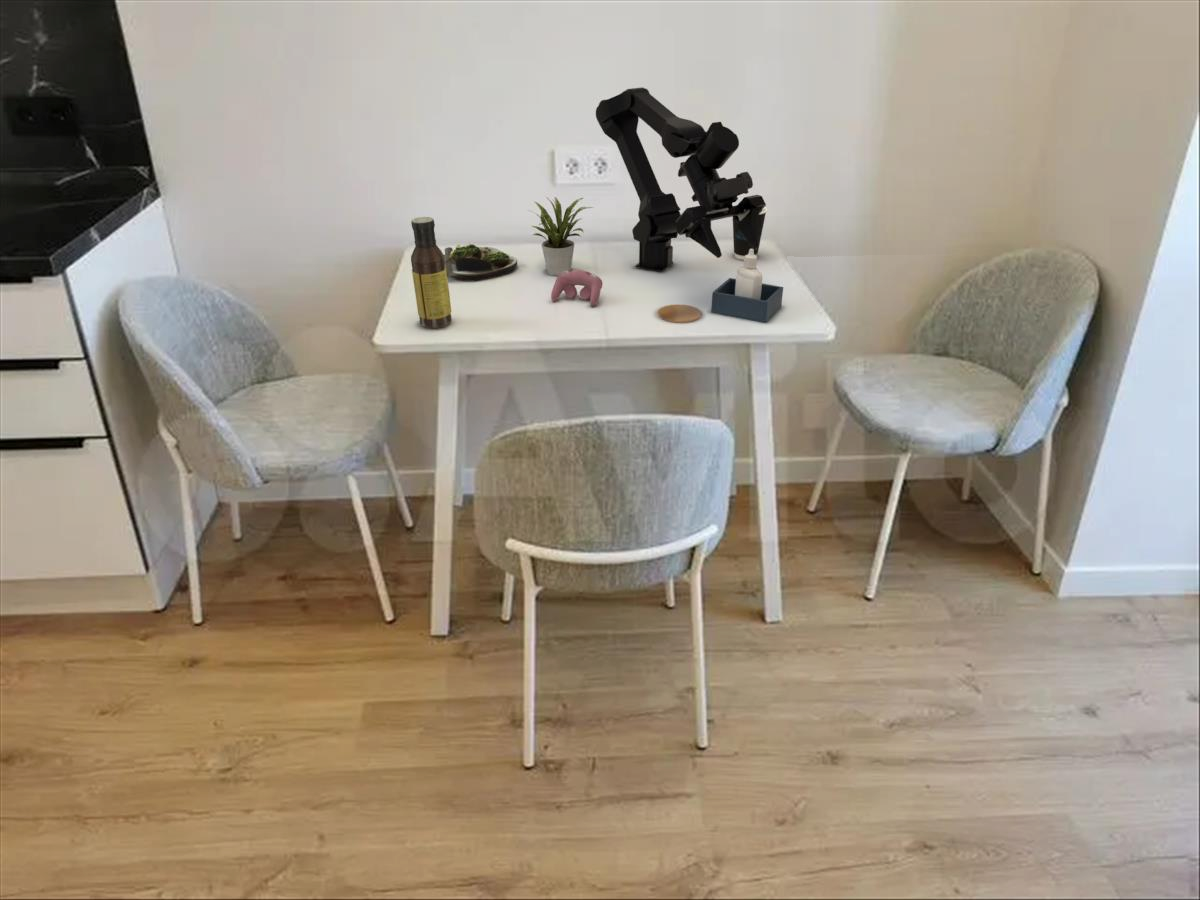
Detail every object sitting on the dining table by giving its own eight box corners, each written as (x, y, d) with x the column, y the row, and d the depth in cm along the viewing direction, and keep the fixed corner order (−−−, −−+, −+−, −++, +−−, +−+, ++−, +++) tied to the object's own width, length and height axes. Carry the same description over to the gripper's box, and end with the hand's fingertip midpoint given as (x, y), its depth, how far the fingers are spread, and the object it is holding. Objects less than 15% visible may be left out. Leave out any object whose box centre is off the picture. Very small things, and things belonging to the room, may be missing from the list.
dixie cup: (731, 262, 197) (735, 214, 192) (724, 251, 204) (728, 204, 199) (766, 261, 198) (771, 213, 192) (758, 250, 205) (762, 203, 199)
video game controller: (601, 308, 178) (606, 274, 177) (594, 306, 174) (599, 270, 173) (555, 303, 181) (560, 268, 180) (548, 300, 177) (553, 265, 176)
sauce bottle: (458, 320, 169) (449, 217, 159) (440, 331, 164) (429, 226, 154) (430, 314, 172) (419, 212, 161) (411, 326, 167) (398, 221, 157)
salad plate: (415, 262, 199) (412, 242, 196) (485, 247, 207) (483, 228, 205) (454, 287, 185) (452, 265, 183) (527, 270, 194) (526, 249, 191)
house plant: (603, 262, 198) (603, 189, 189) (590, 283, 186) (589, 206, 178) (541, 258, 200) (538, 186, 192) (524, 279, 189) (521, 202, 180)
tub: (710, 312, 172) (712, 292, 170) (728, 297, 179) (729, 277, 177) (765, 322, 168) (767, 302, 165) (781, 306, 175) (783, 286, 172)
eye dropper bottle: (738, 314, 171) (743, 254, 165) (732, 304, 176) (737, 245, 169) (760, 314, 171) (766, 253, 165) (754, 303, 176) (759, 244, 170)
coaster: (650, 317, 170) (650, 315, 170) (668, 303, 176) (668, 301, 176) (690, 325, 166) (690, 323, 166) (707, 311, 173) (707, 309, 173)
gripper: (687, 164, 162) (721, 239, 159) (763, 152, 170) (798, 222, 168) (660, 198, 171) (692, 269, 169) (734, 185, 180) (766, 252, 177)
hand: (738, 252), depth 170 cm, fingers open, 9 cm apart
